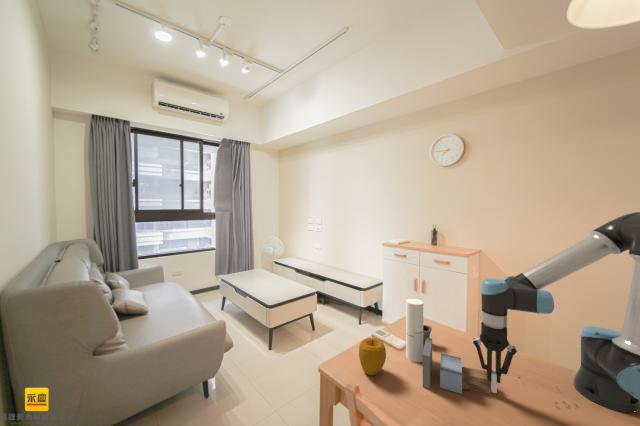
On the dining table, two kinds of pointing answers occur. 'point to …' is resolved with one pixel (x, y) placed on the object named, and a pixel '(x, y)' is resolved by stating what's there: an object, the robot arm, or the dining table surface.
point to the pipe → (426, 332)
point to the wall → (427, 363)
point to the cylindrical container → (414, 330)
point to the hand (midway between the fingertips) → (493, 390)
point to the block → (451, 373)
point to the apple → (372, 355)
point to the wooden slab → (475, 380)
